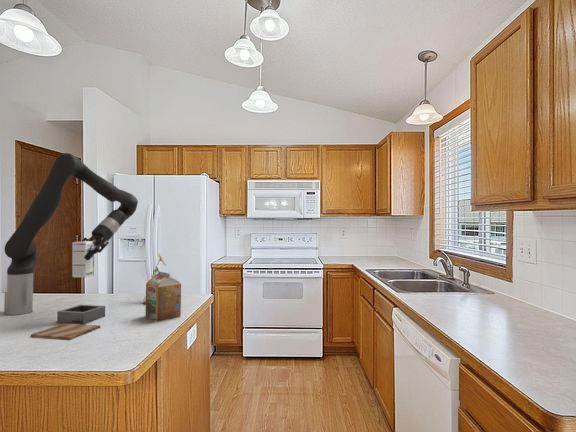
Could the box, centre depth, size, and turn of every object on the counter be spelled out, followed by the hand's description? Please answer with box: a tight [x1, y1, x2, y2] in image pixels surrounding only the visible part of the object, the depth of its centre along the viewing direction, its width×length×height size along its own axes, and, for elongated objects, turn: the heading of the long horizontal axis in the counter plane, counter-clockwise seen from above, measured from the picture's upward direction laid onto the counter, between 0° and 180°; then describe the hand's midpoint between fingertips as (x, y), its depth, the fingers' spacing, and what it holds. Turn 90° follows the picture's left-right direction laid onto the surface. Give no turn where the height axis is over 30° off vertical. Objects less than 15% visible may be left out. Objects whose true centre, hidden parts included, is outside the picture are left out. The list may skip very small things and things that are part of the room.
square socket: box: [56, 304, 106, 325], centre depth 140 cm, size 12×12×4 cm
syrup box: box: [71, 240, 95, 279], centre depth 141 cm, size 6×6×14 cm
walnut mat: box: [30, 323, 101, 341], centre depth 124 cm, size 16×14×1 cm
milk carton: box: [145, 270, 182, 323], centre depth 146 cm, size 11×11×19 cm
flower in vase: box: [142, 252, 167, 303], centre depth 173 cm, size 13×11×25 cm
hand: (79, 258), depth 140 cm, fingers closed on syrup box, 7 cm apart
